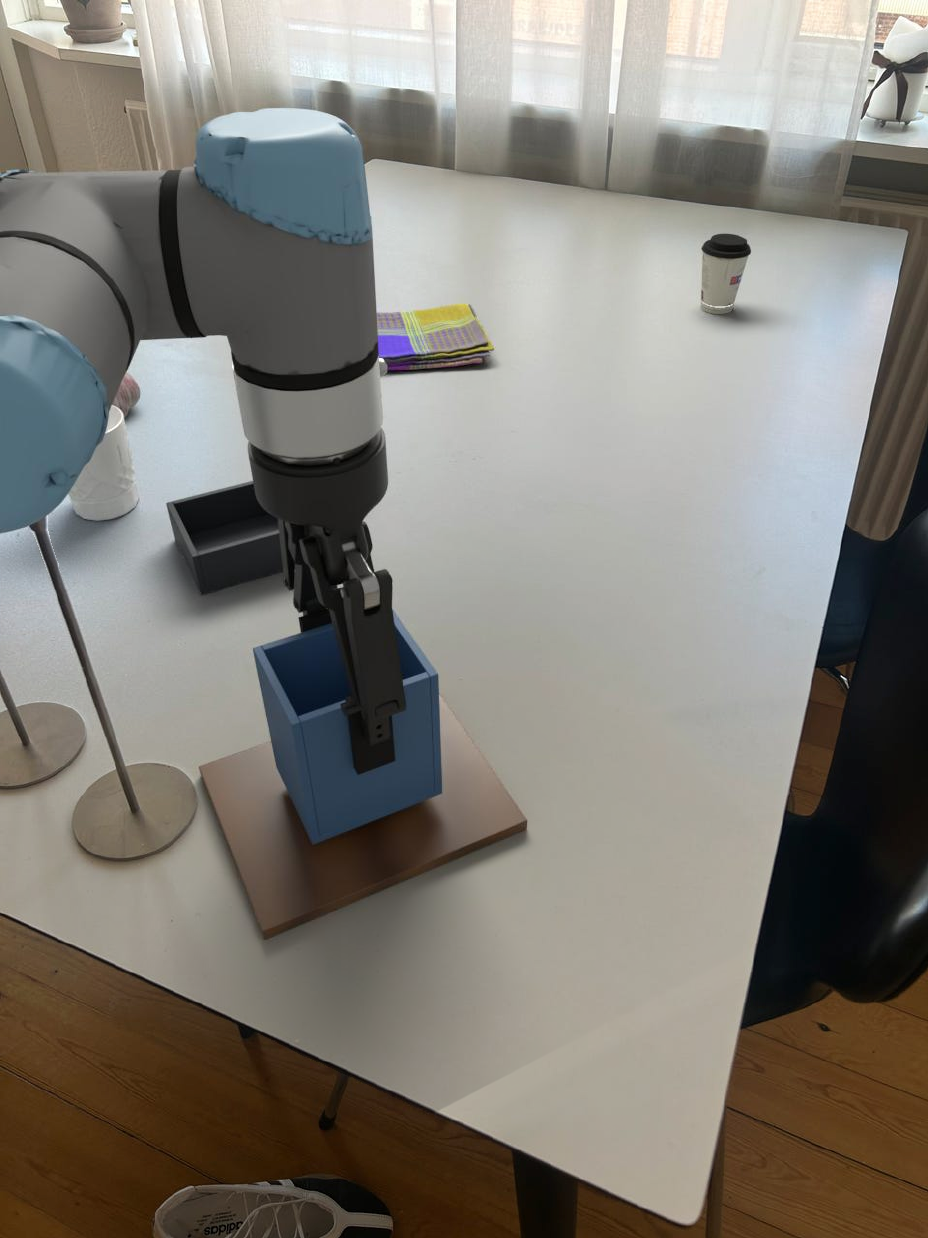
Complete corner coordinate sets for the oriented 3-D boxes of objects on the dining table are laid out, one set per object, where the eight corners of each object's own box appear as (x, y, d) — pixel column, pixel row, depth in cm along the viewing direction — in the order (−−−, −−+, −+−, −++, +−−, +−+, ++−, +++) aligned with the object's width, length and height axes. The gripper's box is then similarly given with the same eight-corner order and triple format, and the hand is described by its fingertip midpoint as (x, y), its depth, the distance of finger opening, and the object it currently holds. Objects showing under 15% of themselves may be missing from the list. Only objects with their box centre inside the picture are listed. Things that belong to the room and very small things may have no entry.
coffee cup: (685, 311, 142) (696, 242, 135) (701, 295, 147) (711, 227, 140) (732, 320, 139) (745, 250, 133) (746, 303, 144) (759, 235, 138)
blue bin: (312, 845, 67) (291, 725, 59) (276, 766, 72) (252, 647, 64) (442, 793, 70) (438, 674, 62) (398, 722, 76) (389, 604, 68)
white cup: (157, 488, 106) (137, 406, 100) (122, 529, 100) (98, 444, 94) (92, 480, 107) (68, 398, 101) (54, 519, 102) (25, 435, 95)
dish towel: (309, 324, 139) (307, 305, 137) (476, 314, 142) (476, 295, 140) (311, 379, 126) (309, 359, 124) (495, 367, 128) (495, 347, 127)
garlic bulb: (127, 427, 116) (111, 366, 111) (72, 422, 118) (53, 360, 112) (155, 398, 122) (141, 338, 117) (102, 393, 123) (85, 333, 118)
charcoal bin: (201, 595, 92) (192, 557, 89) (174, 539, 99) (165, 502, 96) (322, 560, 96) (317, 522, 93) (288, 509, 103) (283, 472, 100)
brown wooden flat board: (264, 940, 64) (262, 932, 63) (200, 774, 75) (198, 766, 74) (527, 829, 71) (527, 820, 70) (433, 692, 82) (433, 683, 81)
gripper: (463, 509, 47) (466, 808, 61) (314, 344, 61) (346, 619, 76) (316, 551, 44) (356, 853, 59) (197, 369, 58) (253, 649, 73)
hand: (350, 721), depth 67 cm, fingers closed on blue bin, 8 cm apart
